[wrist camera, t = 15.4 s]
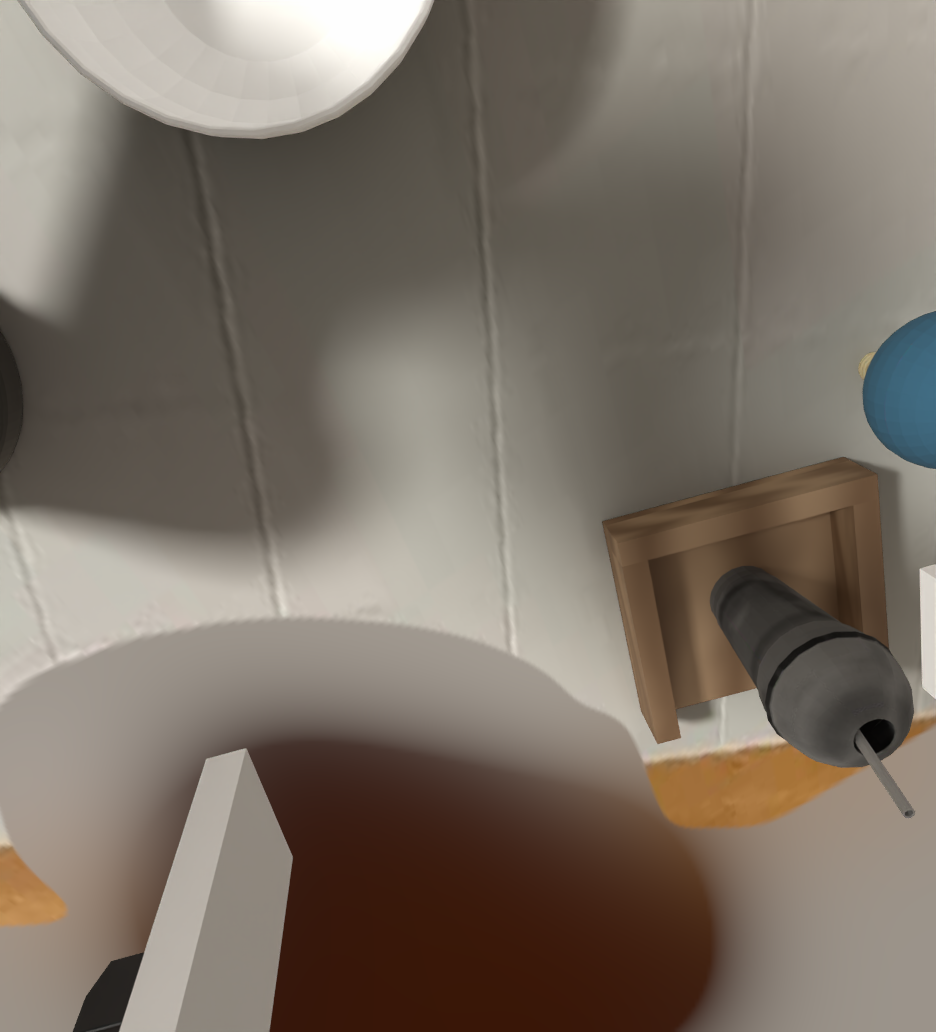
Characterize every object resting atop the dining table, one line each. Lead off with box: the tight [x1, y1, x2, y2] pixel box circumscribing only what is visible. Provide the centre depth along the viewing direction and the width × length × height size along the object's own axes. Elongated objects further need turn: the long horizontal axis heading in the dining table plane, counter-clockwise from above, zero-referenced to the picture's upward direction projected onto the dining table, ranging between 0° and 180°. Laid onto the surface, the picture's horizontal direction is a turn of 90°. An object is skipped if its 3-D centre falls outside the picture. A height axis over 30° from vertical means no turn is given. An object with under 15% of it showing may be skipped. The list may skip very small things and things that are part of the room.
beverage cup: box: [710, 566, 915, 818], centre depth 43 cm, size 7×7×20 cm
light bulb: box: [858, 311, 936, 469], centre depth 42 cm, size 8×8×12 cm
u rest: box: [602, 457, 889, 744], centre depth 51 cm, size 16×15×4 cm
